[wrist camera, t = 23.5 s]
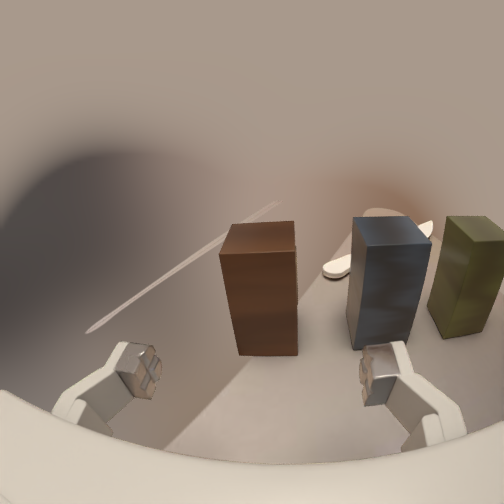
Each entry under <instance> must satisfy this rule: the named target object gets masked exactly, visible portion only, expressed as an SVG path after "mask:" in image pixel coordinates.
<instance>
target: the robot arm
mask: <svg viewBox="0 0 504 504" xmlns="http://www.w3.org/2000/svg"><path fill="white" fill-rule="evenodd" d="M362 353H363V358H362V359H361V360H360V365H359V377H360V383H361V384H362V385H363V386H364V387H363V390H362V396H363V403H364V406H374V405H383V404H385V406H386V407H387V408H388V409H389V410H390V411H391V412H392V414H393V415H394V416H395V417H396V418H397V419H398V420H399V422H400V423H401V424H402V425H403V426H404V427H405V428H406V430H407V431H408V432H409V433H410V434H411V435H410V436H409V437H408V439H407V440H406V441H405V443H404V444H403V445H402V446H401V452H402V453H397V454H391V455H386V456H380V457H374V458H367V459H359V460H351V461H341V462H328V463H310V464H266V463H247V462H235V461H225V460H216V459H208V458H201V457H195V456H189V455H183V454H178V453H173V452H168V451H163V450H158V449H154V448H150V447H146V446H142V445H138V444H134V443H131V442H127V441H124V440H120V439H117V438H114V437H112V435H113V431H112V429H111V428H110V427H109V426H108V425H107V424H106V423H107V422H108V421H109V420H111V419H112V418H113V417H114V416H115V415H116V414H117V413H118V412H119V411H121V410H122V409H123V408H124V407H125V406H126V405H127V404H128V403H129V402H130V401H132V400H133V399H134V397H136V398H142V399H148V400H151V399H152V397H153V394H154V392H155V389H156V386H155V382H157V381H158V380H159V379H160V377H161V374H162V364H161V361H160V359H159V358H158V357H157V356H156V355H154V354H155V349H154V347H153V346H152V345H146V344H139V343H131V342H124V341H121V342H119V343H118V344H117V345H116V347H115V349H114V351H113V352H112V354H111V356H110V357H109V359H108V361H107V363H106V364H105V366H104V368H100V369H98V370H96V371H95V372H93V373H92V374H90V375H89V376H87V377H86V378H84V379H82V380H81V381H79V382H78V383H76V384H75V385H73V386H72V387H70V388H68V389H67V390H65V391H64V392H63V393H62V394H61V396H60V397H59V399H58V401H57V403H56V404H55V406H54V408H53V410H52V411H51V413H49V412H46V411H44V410H42V409H40V408H38V407H36V406H34V405H32V404H30V403H28V402H26V401H24V400H22V399H21V398H18V397H17V396H15V395H13V394H12V393H10V392H8V391H6V390H0V504H504V420H502V421H500V422H498V423H495V424H493V425H491V426H488V427H486V428H483V429H480V430H478V431H475V432H472V433H470V434H468V433H467V429H466V426H465V423H464V419H463V416H462V413H461V410H460V407H459V405H457V404H456V403H455V402H454V401H452V400H451V399H450V398H449V397H447V396H446V395H445V394H444V393H442V392H441V391H440V390H439V389H438V388H436V387H435V386H434V385H433V384H431V383H430V382H429V381H428V380H426V379H425V378H424V377H423V376H421V375H420V374H419V373H415V372H414V369H413V366H412V363H411V360H410V357H409V355H408V352H407V349H406V346H405V343H404V342H403V341H395V342H386V343H378V344H369V345H364V347H363V351H362Z"/></svg>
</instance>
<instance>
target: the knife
mask: <svg viewBox="0 0 504 504" xmlns="http://www.w3.org/2000/svg"><path fill="white" fill-rule="evenodd" d="M417 227H418V228H419V229H420V230H421V231H422V232H423V233H424V234H425V236H426V237H427V238H428V237H429V236H430V235H431V233H432V230H433V223H432V221H428V222H426V223H424V224H421V225H419V226H417ZM350 263H351V254H349V255H346V256H344V257H341V258H339V259H336V260H333V261H331V262H328V263H326V264H324V265H323V274H324V275H325V276H327V277H330V278H340V277H343V276H344V275H346V274H347V273H348V272H350Z"/></svg>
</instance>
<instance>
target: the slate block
mask: <svg viewBox="0 0 504 504" xmlns="http://www.w3.org/2000/svg"><path fill="white" fill-rule="evenodd" d="M431 246H432V243H431V241H430V240H429V239H428V238H427V237H426V236H425V234H424V233H423V232H422V231H421V230H420V229H419V228H418V227H417V225H416V224H415V223H414V222H413V221H412V220H411V219H410V218H409V217H408V216H388V217H353V228H352V248H351V263H350V276H349V288H348V298H347V307H346V316H347V321H348V326H349V331H350V336H351V341H352V347H353V350H361V349H363V347H364V345H369V344H378V343H386V342H395V341H403V342H404V343H405V345H406V343H407V340H408V337H409V334H410V331H411V328H412V324H413V321H414V318H415V314H416V311H417V307H418V304H419V300H420V296H421V292H422V288H423V284H424V280H425V276H426V271H427V267H428V262H429V257H430V252H431Z"/></svg>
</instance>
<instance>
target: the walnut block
mask: <svg viewBox="0 0 504 504" xmlns="http://www.w3.org/2000/svg"><path fill="white" fill-rule="evenodd" d="M296 257H297V256H296V246H295V231H294V221H281V222H261V223H243V224H232V225H231V228H230V230H229V232H228V234H227V237H226V239H225V241H224V243H223V246H222V248H221V251H220V253H219V258H220V263H221V269H222V274H223V279H224V284H225V289H226V294H227V299H228V304H229V309H230V314H231V319H232V324H233V329H234V334H235V338H236V343H237V348H238V352H239V355H241V356H242V355H243V356H295V355H298V319H297V305H298V285H297V258H296Z"/></svg>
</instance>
